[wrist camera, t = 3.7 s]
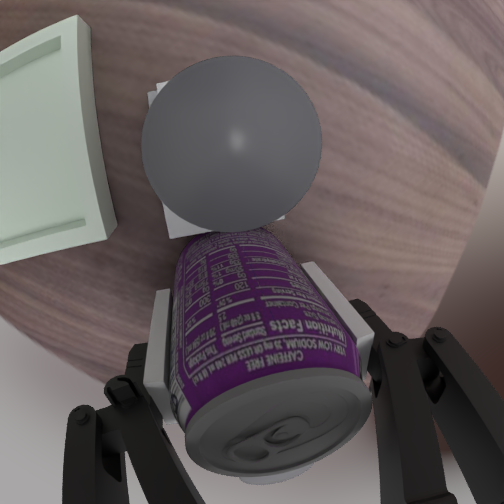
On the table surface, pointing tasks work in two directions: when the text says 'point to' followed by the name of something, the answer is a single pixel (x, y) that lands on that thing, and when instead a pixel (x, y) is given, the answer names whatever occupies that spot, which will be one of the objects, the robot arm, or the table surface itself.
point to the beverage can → (258, 360)
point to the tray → (51, 145)
